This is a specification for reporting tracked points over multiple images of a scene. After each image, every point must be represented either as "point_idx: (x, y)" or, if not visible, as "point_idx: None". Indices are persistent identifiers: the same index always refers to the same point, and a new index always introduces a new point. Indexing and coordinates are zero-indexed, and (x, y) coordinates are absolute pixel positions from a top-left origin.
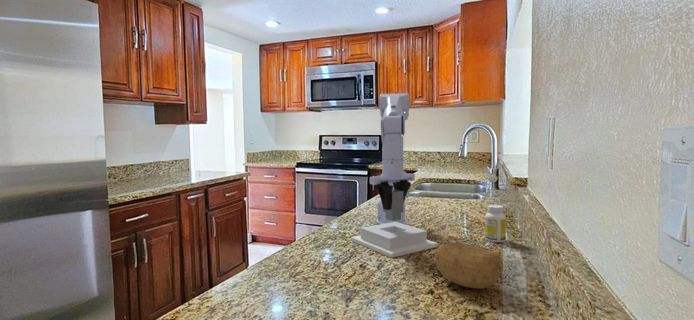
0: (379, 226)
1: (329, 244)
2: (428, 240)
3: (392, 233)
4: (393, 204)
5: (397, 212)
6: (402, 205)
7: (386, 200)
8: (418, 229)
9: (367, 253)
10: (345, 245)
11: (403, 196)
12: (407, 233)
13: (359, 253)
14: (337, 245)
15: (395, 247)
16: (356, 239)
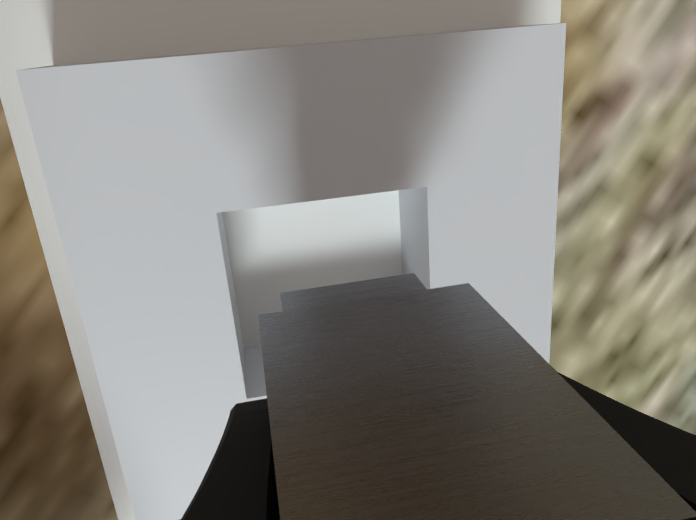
0: None
1: (679, 407)
2: (10, 90)
3: (430, 168)
4: (507, 352)
5: (379, 301)
6: (288, 367)
7: None
8: (81, 171)
9: (614, 130)
10: (618, 351)
11: (246, 514)
12: (295, 92)
13: (654, 158)
14: (656, 371)
15: (456, 30)
16: None
